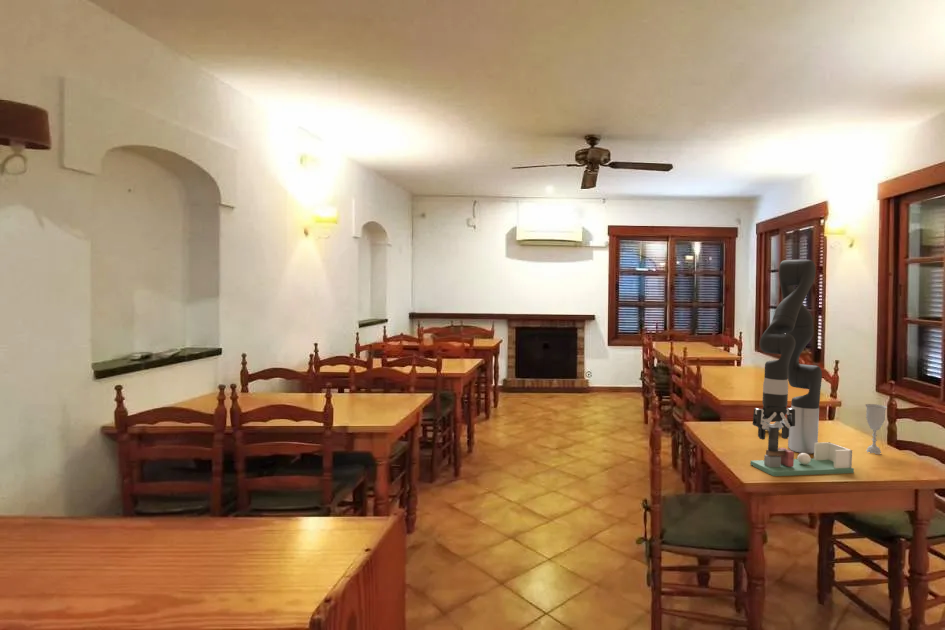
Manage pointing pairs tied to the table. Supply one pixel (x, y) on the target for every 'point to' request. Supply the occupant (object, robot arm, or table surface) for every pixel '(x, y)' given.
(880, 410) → the chalice
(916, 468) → the table surface
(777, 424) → the donut
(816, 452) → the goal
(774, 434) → the slider rod
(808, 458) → the ball
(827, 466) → the playfield
